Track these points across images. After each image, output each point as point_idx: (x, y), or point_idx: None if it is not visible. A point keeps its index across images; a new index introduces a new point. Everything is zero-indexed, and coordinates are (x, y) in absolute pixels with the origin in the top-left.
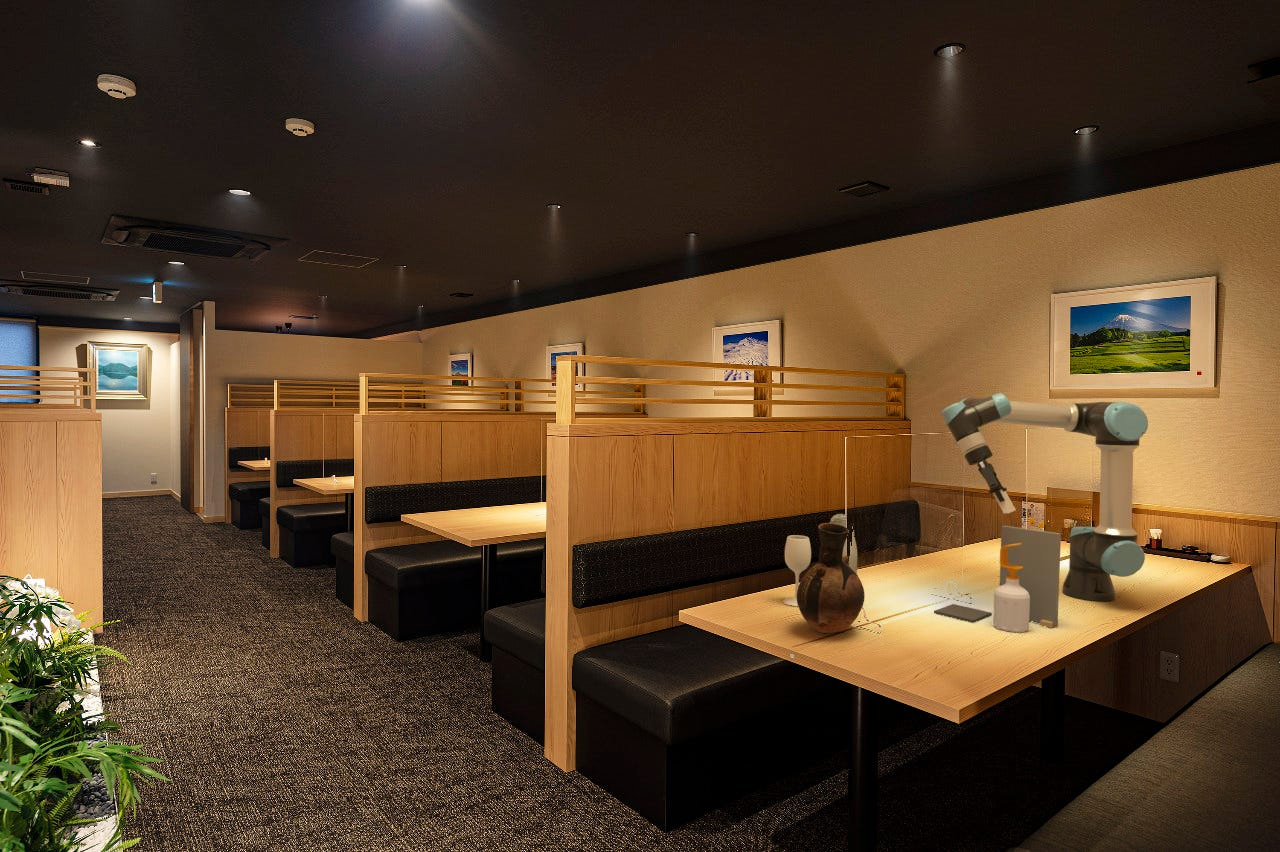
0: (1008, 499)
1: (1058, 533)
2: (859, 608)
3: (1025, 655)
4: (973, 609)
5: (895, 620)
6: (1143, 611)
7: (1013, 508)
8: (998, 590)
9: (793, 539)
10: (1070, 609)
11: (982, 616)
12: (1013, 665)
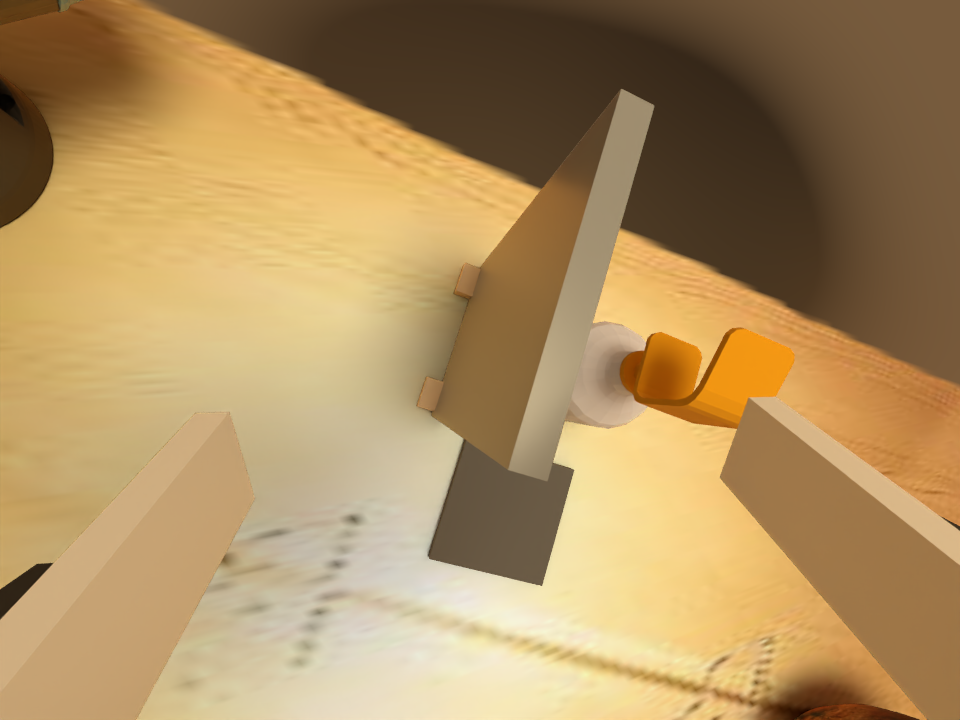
0: (125, 566)
1: (628, 104)
2: (894, 716)
3: None
4: (461, 490)
5: (659, 646)
6: (124, 7)
7: (216, 444)
8: (638, 414)
9: None
10: (244, 226)
11: None
12: (804, 349)
